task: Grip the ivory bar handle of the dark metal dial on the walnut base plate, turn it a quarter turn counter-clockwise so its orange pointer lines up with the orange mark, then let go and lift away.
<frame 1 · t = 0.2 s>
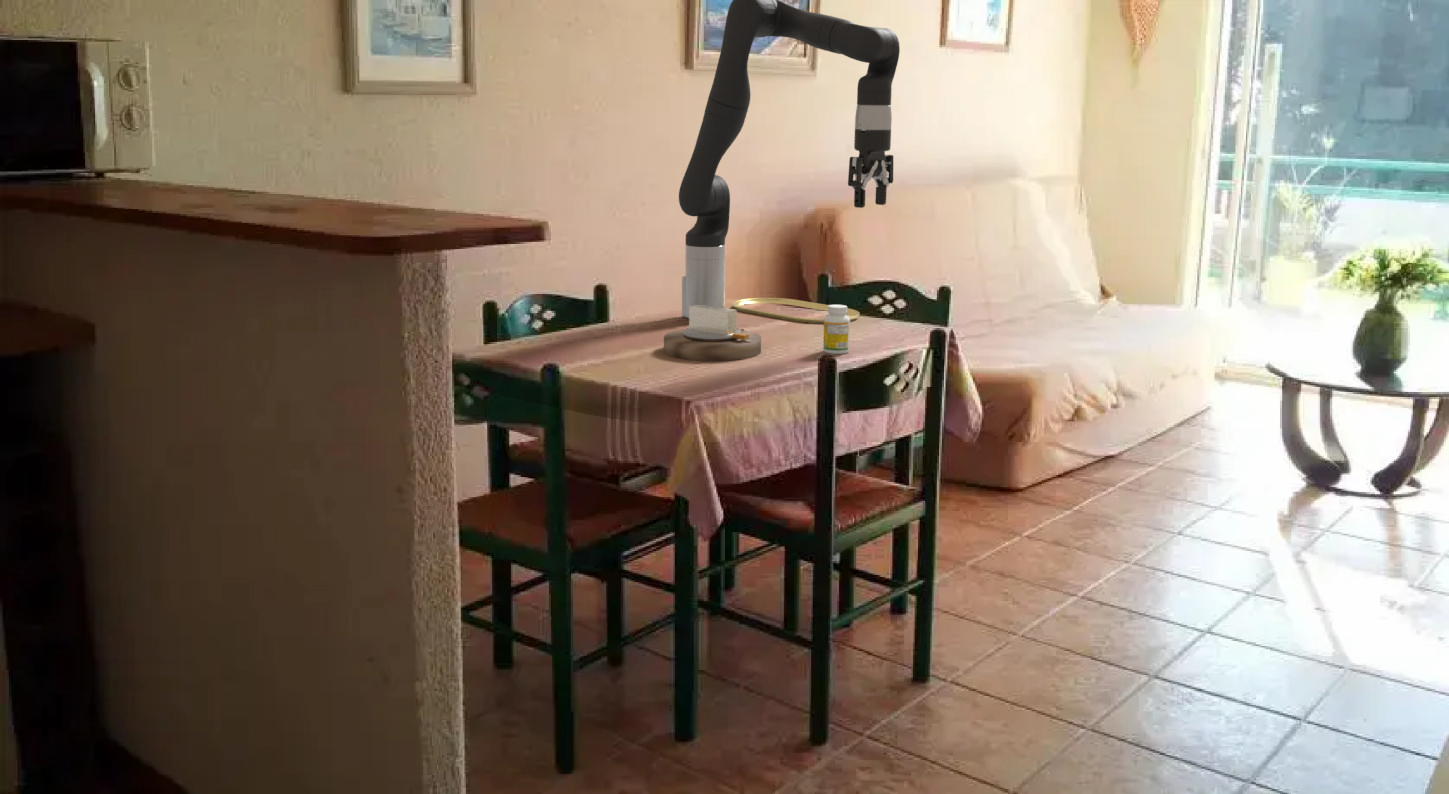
hand: (870, 206, 271), 29 cm above the table, fingers open, 8 cm apart
serving platter: (794, 315, 313), on the table
dial: (717, 322, 264), point 6 cm above the table, hinge at 0.0°
dial base: (712, 350, 266), on the table
supplement bottle: (836, 352, 267), on the table
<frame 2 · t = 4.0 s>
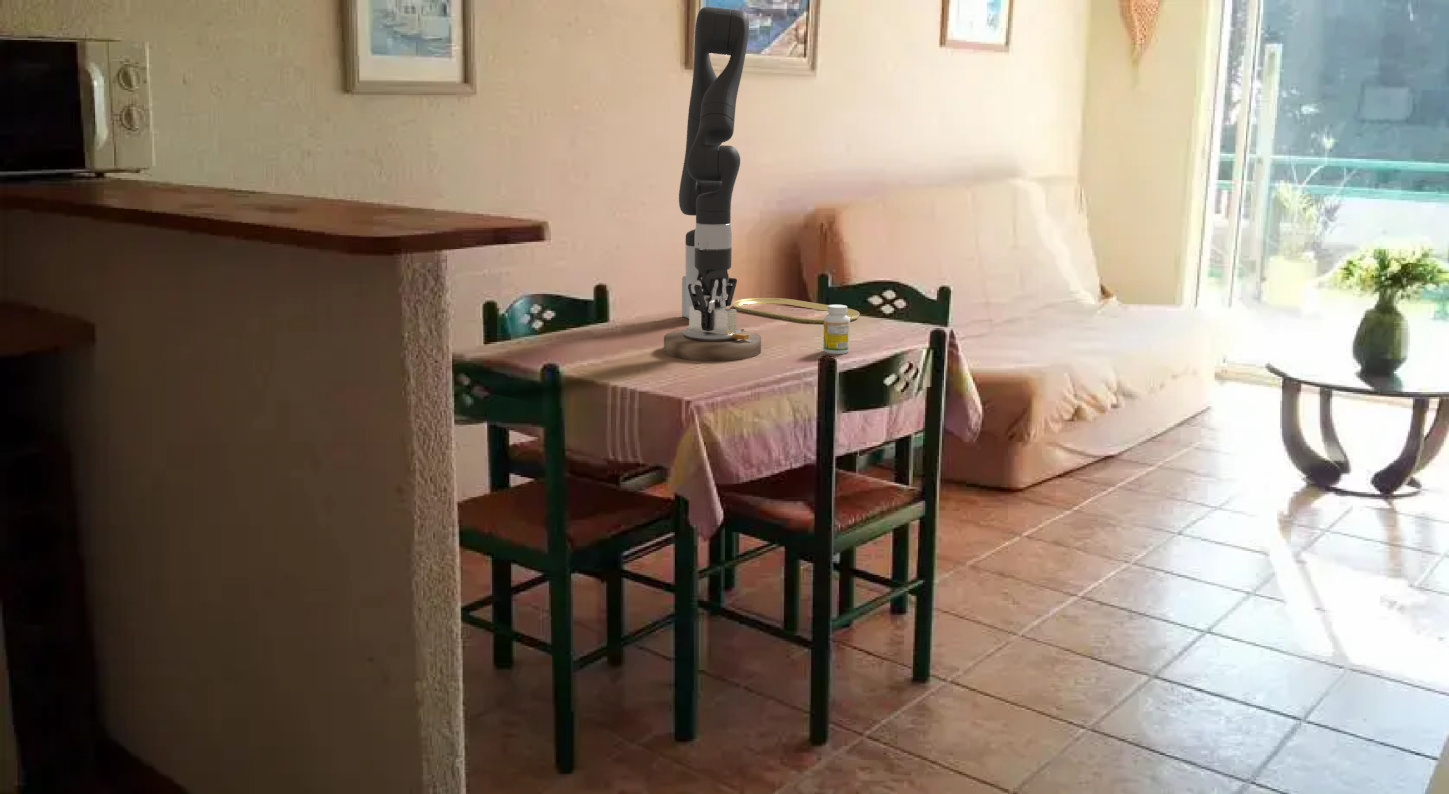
hand: (712, 328, 265), 5 cm above the table, fingers closed on dial, 3 cm apart
dial: (717, 322, 264), point 6 cm above the table, hinge at 0.0°, touching gripper
everything else where it was.
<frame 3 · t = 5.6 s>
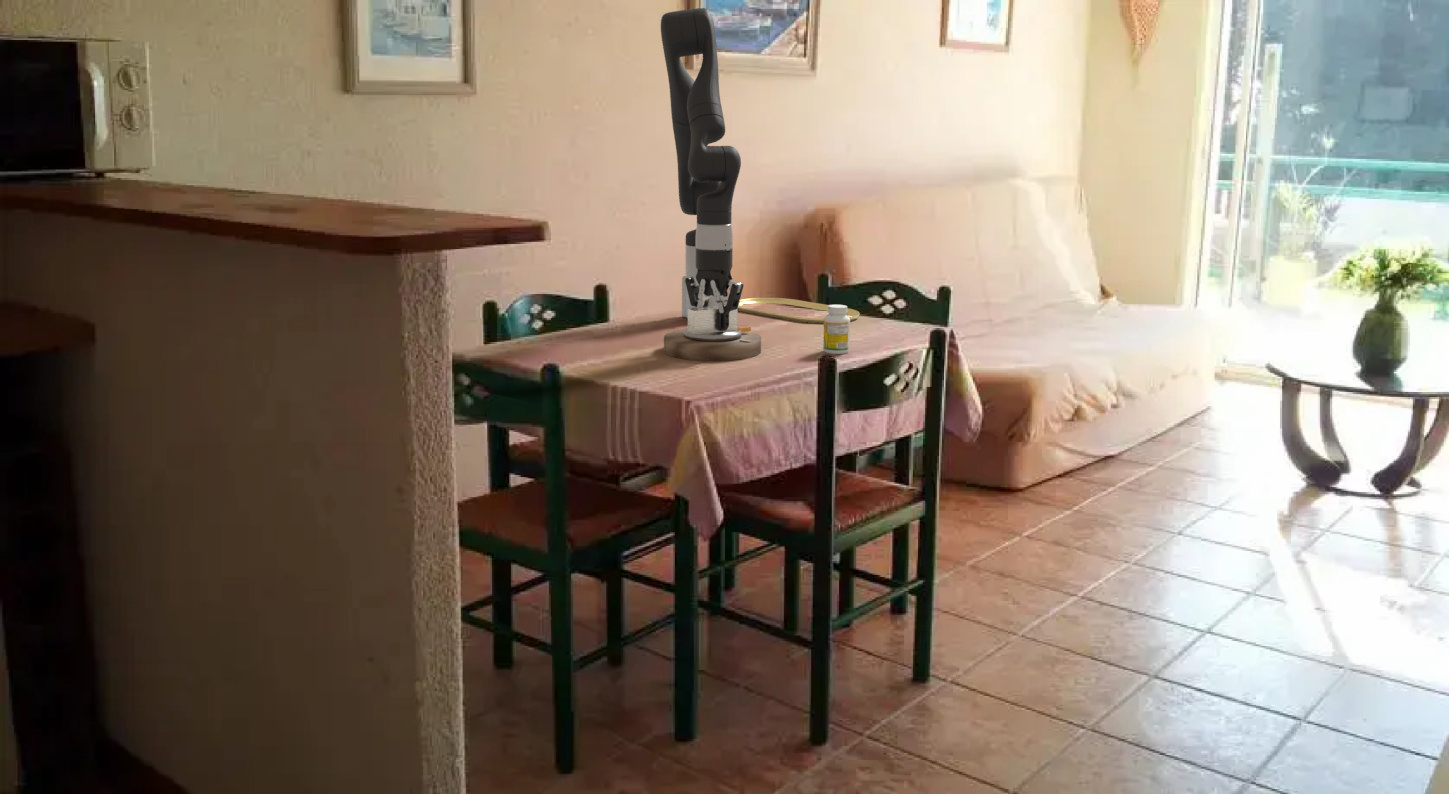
hand: (713, 328, 265), 5 cm above the table, fingers closed on dial, 4 cm apart
dial: (718, 321, 265), point 6 cm above the table, hinge at 67.2°, touching gripper
everything else where it was.
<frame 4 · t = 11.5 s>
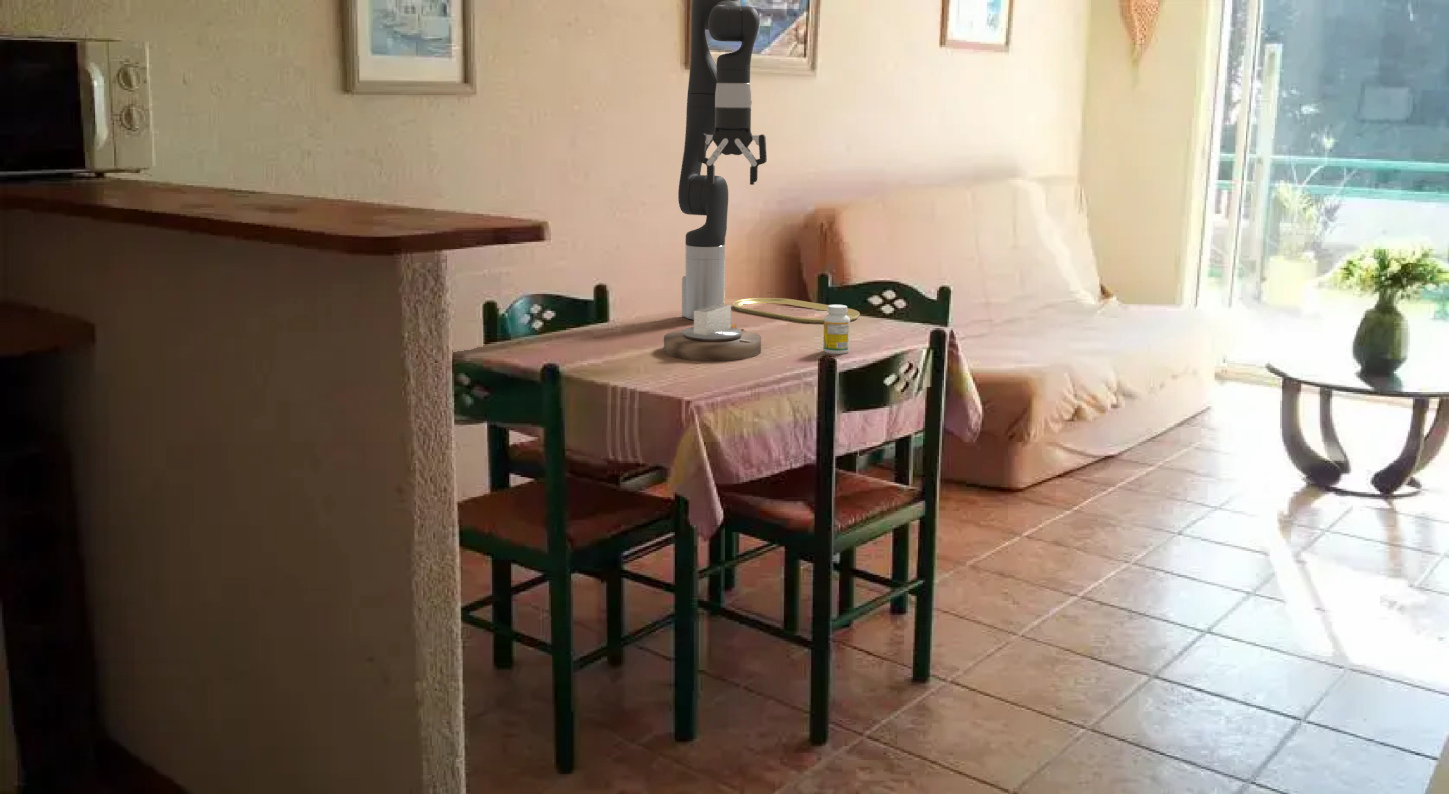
hand: (732, 184, 273), 33 cm above the table, fingers open, 8 cm apart
dial: (715, 320, 266), point 6 cm above the table, hinge at 98.3°
everything else where it was.
at the end: dial at +98° (first picture: +0°); the gripper is holding nothing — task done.
